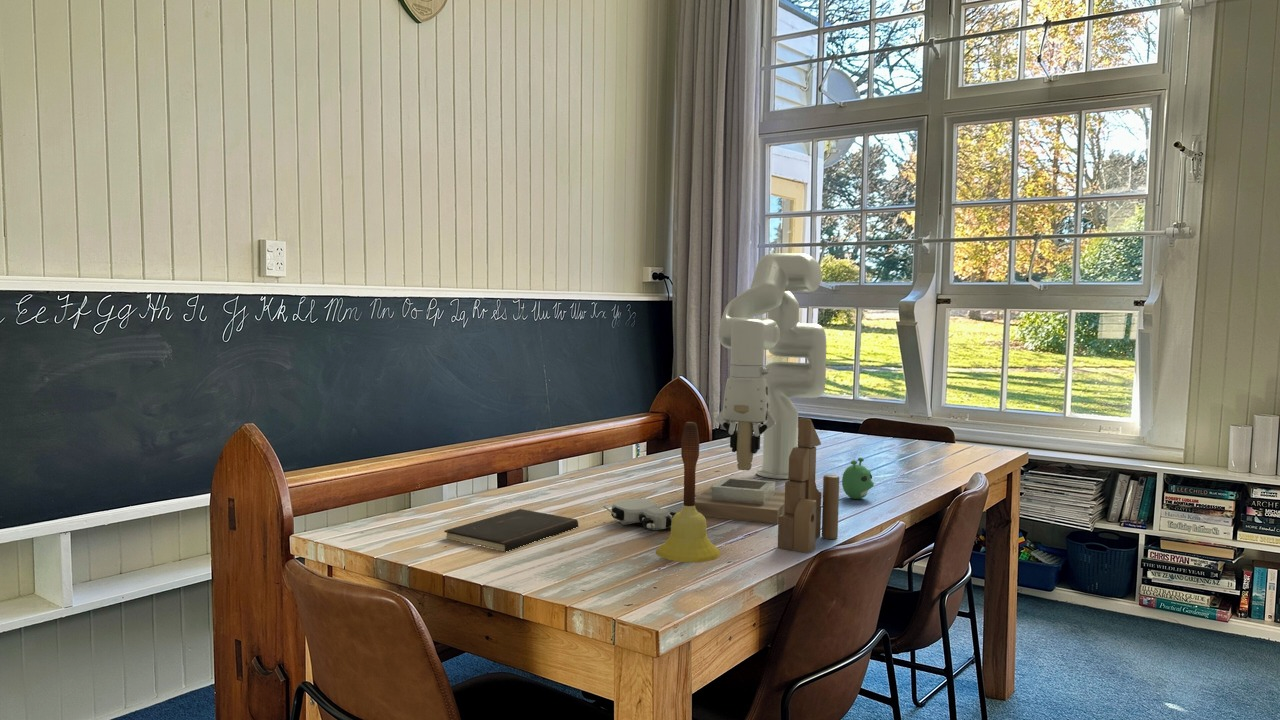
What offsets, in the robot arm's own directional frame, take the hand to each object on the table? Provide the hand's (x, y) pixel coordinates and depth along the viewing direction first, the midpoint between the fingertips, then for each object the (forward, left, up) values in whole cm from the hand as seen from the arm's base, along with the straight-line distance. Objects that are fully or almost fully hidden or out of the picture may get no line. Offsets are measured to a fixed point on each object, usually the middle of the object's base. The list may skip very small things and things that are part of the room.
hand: (744, 451), depth 203 cm
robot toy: (+23, -16, -14) cm, 31 cm away
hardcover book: (+40, -38, -14) cm, 57 cm away
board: (0, 0, -14) cm, 14 cm away
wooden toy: (+22, +19, -14) cm, 32 cm away
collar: (0, 0, -11) cm, 11 cm away
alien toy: (-23, +23, -14) cm, 35 cm away
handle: (0, 0, -4) cm, 4 cm away
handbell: (+39, -1, -14) cm, 41 cm away
